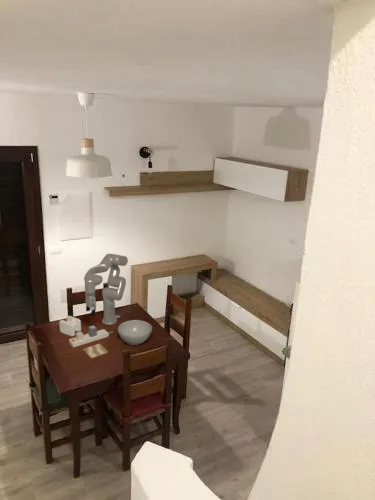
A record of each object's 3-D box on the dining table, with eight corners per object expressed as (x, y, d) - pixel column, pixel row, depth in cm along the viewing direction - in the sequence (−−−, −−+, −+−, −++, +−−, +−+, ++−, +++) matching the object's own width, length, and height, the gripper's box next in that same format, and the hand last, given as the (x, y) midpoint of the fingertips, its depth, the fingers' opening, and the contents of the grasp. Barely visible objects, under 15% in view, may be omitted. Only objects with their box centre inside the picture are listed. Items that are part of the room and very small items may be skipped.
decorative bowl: (127, 330, 341) (127, 317, 338) (156, 336, 334) (157, 323, 330) (111, 346, 317) (111, 332, 313) (143, 353, 310) (143, 339, 306)
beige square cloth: (100, 344, 319) (100, 343, 319) (108, 352, 309) (108, 351, 308) (83, 349, 311) (83, 348, 311) (91, 358, 300) (90, 357, 300)
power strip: (110, 330, 340) (110, 321, 338) (115, 334, 334) (115, 325, 332) (69, 342, 319) (68, 333, 317) (73, 347, 313) (72, 338, 311)
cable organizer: (82, 332, 335) (81, 319, 331) (73, 338, 326) (72, 325, 322) (68, 327, 341) (67, 315, 338) (59, 332, 332) (58, 320, 329)
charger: (94, 332, 329) (93, 324, 327) (96, 335, 325) (96, 327, 323) (88, 334, 326) (88, 326, 324) (91, 337, 322) (90, 329, 320)
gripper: (99, 296, 310) (99, 316, 315) (90, 288, 323) (90, 307, 328) (90, 298, 305) (90, 319, 311) (81, 290, 318) (81, 310, 324)
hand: (90, 313), depth 320 cm, fingers open, 9 cm apart
